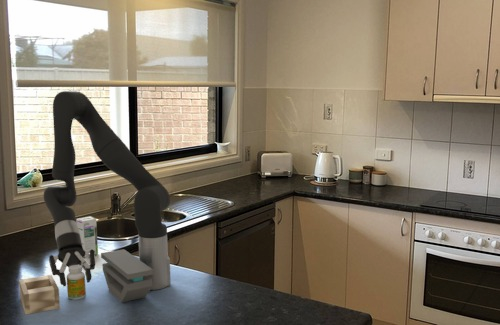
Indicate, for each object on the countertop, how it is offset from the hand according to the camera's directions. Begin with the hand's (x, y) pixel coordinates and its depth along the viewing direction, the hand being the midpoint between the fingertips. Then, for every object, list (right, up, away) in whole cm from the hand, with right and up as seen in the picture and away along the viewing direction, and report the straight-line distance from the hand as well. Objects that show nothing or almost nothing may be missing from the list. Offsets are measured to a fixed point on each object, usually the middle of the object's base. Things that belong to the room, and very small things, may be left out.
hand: (76, 283), depth 171 cm
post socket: (-10, -5, -3) cm, 12 cm away
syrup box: (-10, +1, +46) cm, 47 cm away
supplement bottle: (-1, -5, +2) cm, 5 cm away
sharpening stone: (+15, -5, +4) cm, 16 cm away
